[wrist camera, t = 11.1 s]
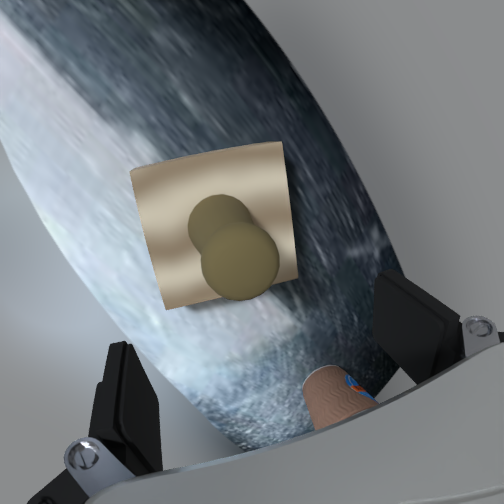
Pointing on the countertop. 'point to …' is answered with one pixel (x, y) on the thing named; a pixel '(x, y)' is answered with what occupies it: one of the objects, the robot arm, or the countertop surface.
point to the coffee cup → (334, 396)
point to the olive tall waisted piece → (232, 248)
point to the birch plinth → (195, 190)
